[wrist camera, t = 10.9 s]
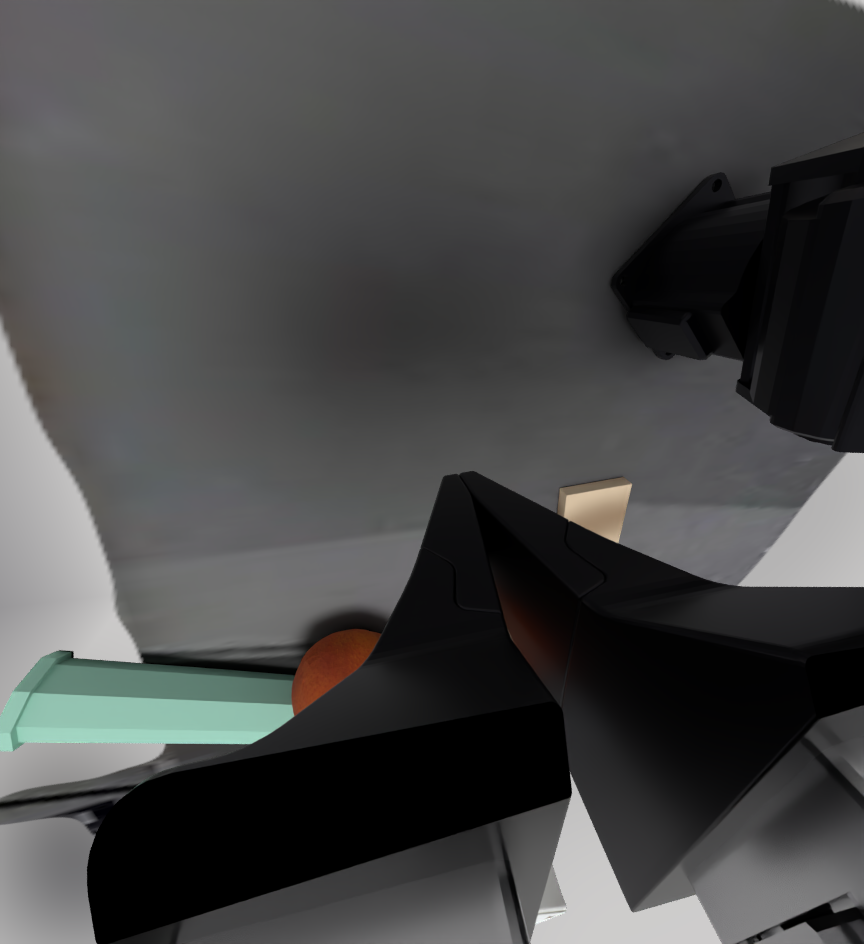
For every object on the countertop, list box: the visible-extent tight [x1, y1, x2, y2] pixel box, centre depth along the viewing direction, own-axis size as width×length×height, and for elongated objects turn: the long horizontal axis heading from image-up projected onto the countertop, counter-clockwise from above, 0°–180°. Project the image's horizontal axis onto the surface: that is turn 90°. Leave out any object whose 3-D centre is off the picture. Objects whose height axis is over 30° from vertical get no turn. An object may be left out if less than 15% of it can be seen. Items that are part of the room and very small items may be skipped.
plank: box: [557, 477, 632, 543], centre depth 33 cm, size 33×5×1 cm, turn 6°
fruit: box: [291, 629, 381, 716], centre depth 27 cm, size 9×9×8 cm
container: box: [0, 650, 295, 751], centre depth 28 cm, size 6×6×25 cm
